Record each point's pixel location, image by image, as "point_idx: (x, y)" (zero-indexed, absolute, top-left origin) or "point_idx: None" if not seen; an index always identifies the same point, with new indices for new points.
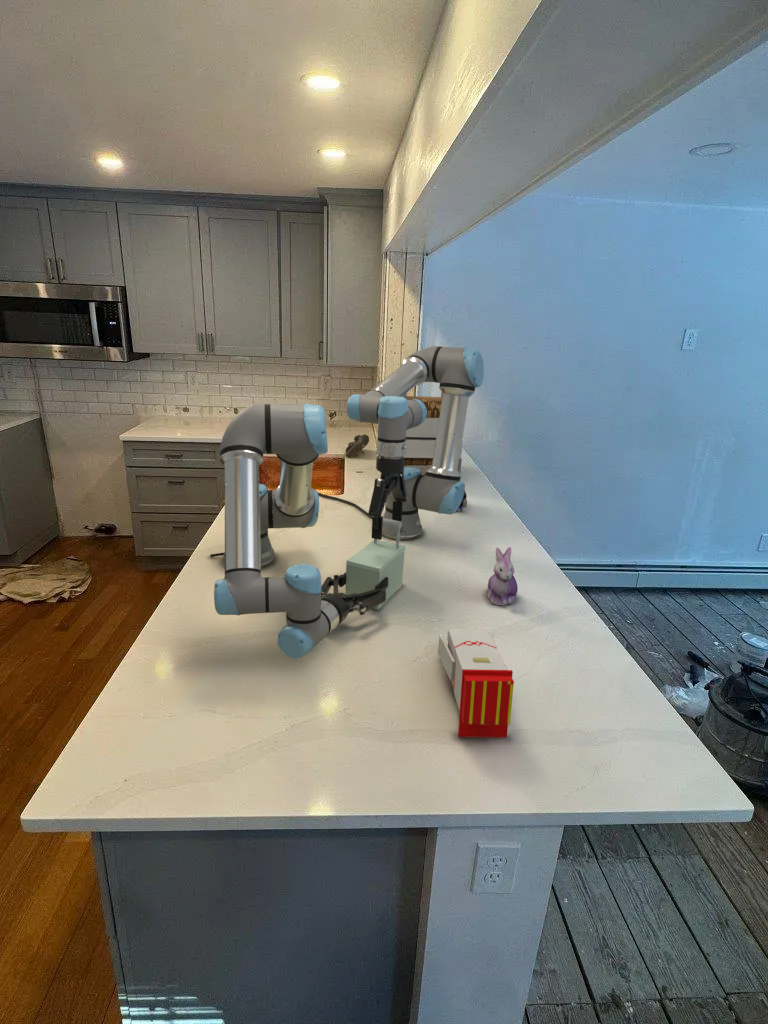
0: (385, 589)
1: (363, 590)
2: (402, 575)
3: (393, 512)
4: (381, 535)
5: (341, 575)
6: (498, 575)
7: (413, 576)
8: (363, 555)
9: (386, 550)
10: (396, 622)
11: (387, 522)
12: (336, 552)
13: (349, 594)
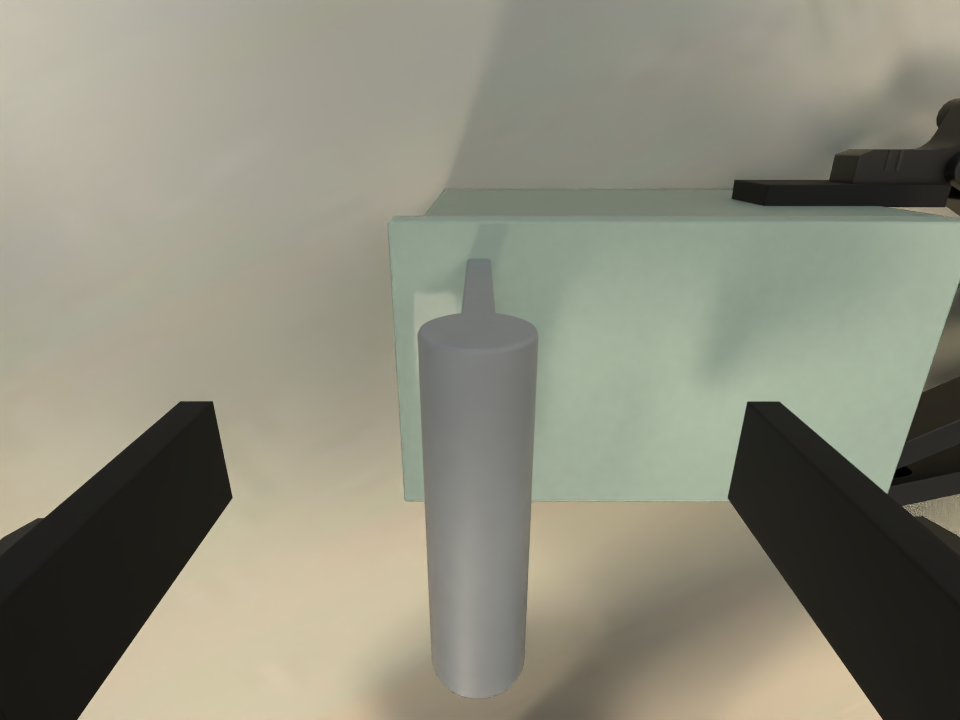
0: (864, 150)
1: None
2: (447, 194)
3: (154, 588)
4: (786, 425)
5: None
6: None
7: (300, 177)
8: None
9: (576, 333)
10: (874, 28)
11: (528, 511)
12: (300, 612)
13: None
